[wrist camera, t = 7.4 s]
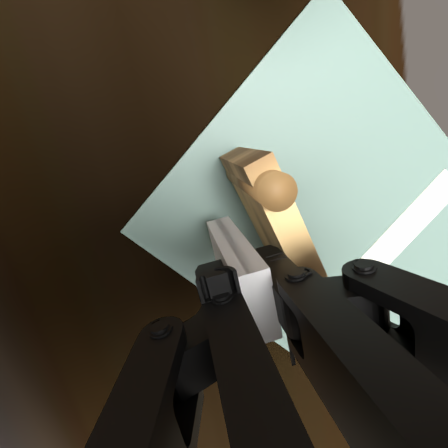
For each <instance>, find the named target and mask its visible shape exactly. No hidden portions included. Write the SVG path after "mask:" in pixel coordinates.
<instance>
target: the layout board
mask: <svg viewBox="0 0 448 448" xmlns="http://www.w3.org/2000/svg"><path fill="white" fill-rule="evenodd" d="M237 147H244V148H251V149H257V150H264V151H271V152H273V154H274V156H275V158H276V160H277V163H278V165H279V167H280V169H281V172H284V173H287V174H289V175H290V176H292V177H293V178H294V180H295V182H296V184H297V187H298V194H297V198H296V200H295V203H296V206H297V208H298V210H299V212H300V215H301V217H302V219H303V221H304V224H305V226H306V228H307V230H308V233H309V235H310V237H311V240H312V242H313V244H314V246H315V249H316V251H317V253H318V255H319V258H320V260H321V262H322V264H323V267H324V269H325V271H326V273H327V276H328V277H332V276H341V275H342V270H341V269H342V266H343V265H344V264H345V263H347V262H349V261H352V260H354V259H360V258H365V259H373V260H377V261H380V262H383V263H386V264H389V265H392V266H394V267H397V268H400V269H403V270H406V271H409V272H411V273H414V274H417V275H420V276H423V277H425V278H428V279H431V280H434V281H437V282H439V283H442V284H445V285H448V138H447V136H446V135H445V134H444V132H443V131H442V130H441V129H440V127H439V126H438V125H437V124H436V122H435V121H434V119H433V118H432V117H431V116H430V115H429V113H428V112H427V111H426V109H425V108H424V107H423V105H422V104H421V103H420V101H419V100H418V99H417V97H416V96H415V95H414V94H413V92H412V91H411V90H410V88H409V87H408V86H407V85H406V83H405V82H404V81H403V79H402V78H401V77H400V75H399V74H398V73H397V72H396V70H395V69H394V68H393V66H392V65H391V64H390V62H389V61H388V60H387V59H386V57H385V56H384V55H383V53H382V52H381V51H380V50H379V48H378V47H377V46H376V44H375V43H374V42H373V40H372V39H371V38H370V37H369V35H368V34H367V33H366V31H365V30H364V29H363V27H362V26H361V25H360V24H359V22H358V21H357V20H356V18H355V17H354V16H353V15H352V13H351V12H350V11H349V9H348V8H347V7H346V5H345V4H344V3H343V2H342V0H310V2H309V3H308V4H307V5H306V7H305V8H304V9H303V10H302V11H301V13H300V14H299V15H298V16H297V17H296V19H295V20H294V21H293V22H292V24H291V25H290V26H289V27H288V28H287V30H286V31H285V32H284V33H283V34H282V36H281V37H280V38H279V39H278V41H277V42H276V43H275V44H274V45H273V47H272V48H271V49H270V50H269V51H268V53H267V54H266V55H265V56H264V57H263V59H262V60H261V61H260V62H259V64H258V65H257V66H256V67H255V68H254V70H253V71H252V72H251V73H250V74H249V76H248V77H247V78H246V79H245V81H244V82H243V83H242V84H241V85H240V87H239V88H238V89H237V90H236V91H235V93H234V94H233V95H232V96H231V98H230V99H229V100H228V101H227V102H226V104H225V105H224V106H223V107H222V108H221V110H220V111H219V112H218V113H217V115H216V116H215V117H214V118H213V119H212V121H211V122H210V123H209V124H208V125H207V127H206V128H205V129H204V130H203V131H202V133H201V134H200V135H199V136H198V138H197V139H196V140H195V141H194V142H193V144H192V145H191V146H190V147H189V148H188V150H187V151H186V152H185V153H184V155H183V156H182V157H181V158H180V159H179V161H178V162H177V163H176V164H175V165H174V167H173V168H172V169H171V170H170V172H169V173H168V174H167V175H166V176H165V178H164V179H163V180H162V181H161V182H160V184H159V185H158V186H157V187H156V189H155V190H154V191H153V192H152V193H151V195H150V196H149V197H148V198H147V199H146V201H145V202H144V203H143V204H142V205H141V207H140V208H139V209H138V210H137V212H136V213H135V214H134V215H133V216H132V218H131V219H130V220H129V221H128V222H127V224H126V225H125V226H124V227H123V229H122V230H121V231H120V232H121V233H122V234H124V235H125V236H127V237H128V238H129V239H131V240H132V241H134V242H135V243H136V244H138V245H139V246H141V247H142V248H144V249H145V250H146V251H148V252H149V253H151V254H152V255H153V256H155V257H156V258H158V259H159V260H160V261H162V262H163V263H165V264H166V265H168V266H169V267H170V268H172V269H173V270H175V271H176V272H177V273H179V274H180V275H182V276H183V277H184V278H186V279H187V280H189V281H190V282H192V283H193V284H194V285H196V282H195V280H196V275H195V270H196V269H197V267H198V265H201V264H205V263H208V262H212V261H216V260H215V256H214V251H213V247H212V243H211V239H210V235H209V231H208V227H207V223H206V222H208V221H212V220H216V219H219V218H223V217H227V216H228V217H229V218H230V219H231V220H232V222H233V223H234V224H235V225H236V226H237V228H238V229H239V230H240V231H241V233H242V234H243V235H244V236H245V238H246V239H247V240H248V241H249V243H250V244H251V245H252V246H253V248H254V249H256V248H259V247H263V246H264V245H263V243H262V241H261V239H260V237H259V235H258V233H257V231H256V229H255V227H254V225H253V223H252V221H251V219H250V217H249V215H248V213H247V211H246V209H245V207H244V205H243V203H242V201H241V199H240V197H239V195H238V193H237V191H236V189H235V187H234V185H233V184H232V182H231V181H230V180H229V179H228V178H227V175H226V170H225V168H224V166H223V164H222V162H221V160H220V158H219V157H220V156H222V155H224V154H226V153H228V152H230V151H232V150H233V149H235V148H237ZM390 321H391V322H393V323H395V324H397V325H399V324H400V316H399V315H398V314H396V313H394V312H392V311H390ZM281 331H282V336H283V338H281V339H278V340H275V342H276V343H278V344H279V345H280V346H282V347H283V348H285V349H286V350H287V351H289V347H288V341H287V335H286V333H285V332H284V330H283V328H282V327H281Z"/></svg>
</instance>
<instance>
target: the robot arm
mask: <svg viewBox="0 0 448 448" xmlns="http://www.w3.org/2000/svg"><path fill="white" fill-rule="evenodd" d="M206 223H207V227H208V231H209V235H210V239H211V243H212V247H213V251H214V256H215V260H216V261H212V262H208V263H205V264H201V265H198V267H197V269H196V270H195V275H196V280H195V282H196V286H197V290H198V293H199V297H200V301H201V304H202V306H201V308H200V310H199V311H198V313H197V314H195V315H194V316H193V317H192V318H190V319H188V320H187V321H185V322H182V321H181V320H180V319H179V318H177V317H163V318H158V319H156V320H154V321H152V322H150V323H149V324H148V325H146V326H145V327H144V328H143V329H142V330H141V332H140V333H139V335H138V337H137V339H136V341H135V343H134V345H133V347H132V349H131V352H130V354H129V356H128V358H127V360H126V362H125V364H124V366H123V368H122V370H121V372H120V375H119V377H118V379H117V381H116V383H115V385H114V387H113V389H112V391H111V393H110V395H109V398H108V400H107V402H106V404H105V406H104V408H103V410H102V412H101V414H100V416H99V418H98V420H97V423H96V425H95V427H94V429H93V431H92V433H91V435H90V437H89V439H88V441H87V443H86V446H85V448H197V441H198V434H199V427H200V420H201V413H202V406H203V399H204V395H203V390H204V389H205V388H207V387H208V386H210V385H211V384H213V383H214V382H216V381H217V383H218V388H219V393H220V398H221V403H222V408H223V413H224V418H225V423H226V427H227V432H228V437H229V442H230V447H231V448H314V446H313V444H312V442H311V440H310V438H309V436H308V434H307V431H306V429H305V427H304V425H303V423H302V421H301V419H300V416H299V414H298V412H297V410H296V408H295V406H294V404H293V402H292V399H291V397H290V395H289V393H288V391H287V389H286V387H285V384H284V382H283V380H282V378H281V376H280V374H279V372H278V370H277V367H276V365H275V363H274V361H273V359H272V357H271V355H270V352H269V350H268V348H267V346H266V344H265V343H268V342H271V341H275V340H278V339H281V338H283V336H282V331H281V327H282V328H283V330H284V332H285V333H286V335H287V341H288V347H289V352H290V358H291V362H292V366H293V365H296V364H295V358H296V359H297V361H298V362H299V364H300V366H301V367H302V369H303V371H304V372H305V374H306V376H307V377H308V379H309V380H310V382H311V384H312V385H313V387H314V389H315V390H316V392H317V394H318V395H319V397H320V398H321V400H322V402H323V403H324V405H325V407H326V408H327V410H328V412H329V413H330V415H331V416H332V418H333V420H334V421H335V423H336V425H337V426H338V428H339V430H340V431H341V433H342V434H343V436H344V438H345V439H346V441H347V443H348V444H349V446H350V448H448V285H445V284H442V283H439V282H437V281H434V280H431V279H428V278H425V277H423V276H420V275H417V274H414V273H411V272H409V271H406V270H403V269H400V268H397V267H394V266H392V265H389V264H386V263H383V262H380V261H377V260H373V259H365V258H360V259H354V260H352V261H349V262H347V263H345V264H344V265H343V266H342V269H341V270H342V275H341V276H332V277H322V276H321V275H320V274H318V273H317V272H316V271H315V270H313V269H311V268H308V267H303V266H301V267H298V266H297V265H295V264H294V263H293V262H292V261H291V260H290V259H289V258H288V257H287V256H286V255H285V254H284V253H283V252H282V251H281V250H280V249H279V248H278V247H275V246H272V245H266V246H263V247H259V248H256V249H254V248H253V246H252V245H251V244H250V243H249V241H248V240H247V239H246V238H245V236H244V235H243V234H242V233H241V231H240V230H239V229H238V228H237V226H236V225H235V224H234V223H233V222H232V220H231V219H230V218H229V217H228V216H227V217H223V218H219V219H216V220H212V221H208V222H206ZM390 311H392V312H394V313H396V314H398V315H399V316H400V324H399V325H397V324H395V323H393V322H391V321H390Z"/></svg>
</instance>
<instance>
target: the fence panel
mask: <svg viewBox="0 0 448 448" xmlns="http://www.w3.org/2000/svg"><path fill="white" fill-rule="evenodd" d="M219 158H220V160H221V162H222V164H223V166H224V168H225V170H226V175H227V178H228V179H229V180H230V181H231V182H232V184H233V185H234V187H235V189H236V191H237V193H238V195H239V197H240V199H241V201H242V203H243V205H244V207H245V209H246V211H247V213H248V215H249V217H250V219H251V221H252V223H253V225H254V227H255V229H256V231H257V233H258V235H259V237H260V239H261V241H262V243H263V245H264V246H266V245H272V246H275V247H278V248H279V249H280V250H281V251H282V252H283V253H284V254H285V255H286V256H287V257H288V258H289V259H290V260H291V261H292V262H293V263H294V264H295V265H297V266H298V267H301V266H303V267H308V268H311V269H313V270H315V271H316V272H317V273H318V274H320V275H321V276H322V277H328V276H327V273H326V271H325V269H324V267H323V264H322V262H321V260H320V258H319V255H318V253H317V251H316V249H315V246H314V244H313V242H312V240H311V237H310V235H309V233H308V230H307V228H306V226H305V224H304V221H303V219H302V217H301V215H300V212H299V210H298V208H297V206H296V203H295V200H296V198H297V194H298V187H297V184H296V182H295V180H294V178H293V177H292V176H290V175H289V174H287V173H284V172H281V169H280V167H279V165H278V163H277V160H276V158H275V156H274V154H273V152H271V151H264V150H257V149H251V148H244V147H237V148H235V149H233V150H232V151H230V152H228V153H226V154H224V155H222V156H220V157H219Z"/></svg>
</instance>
